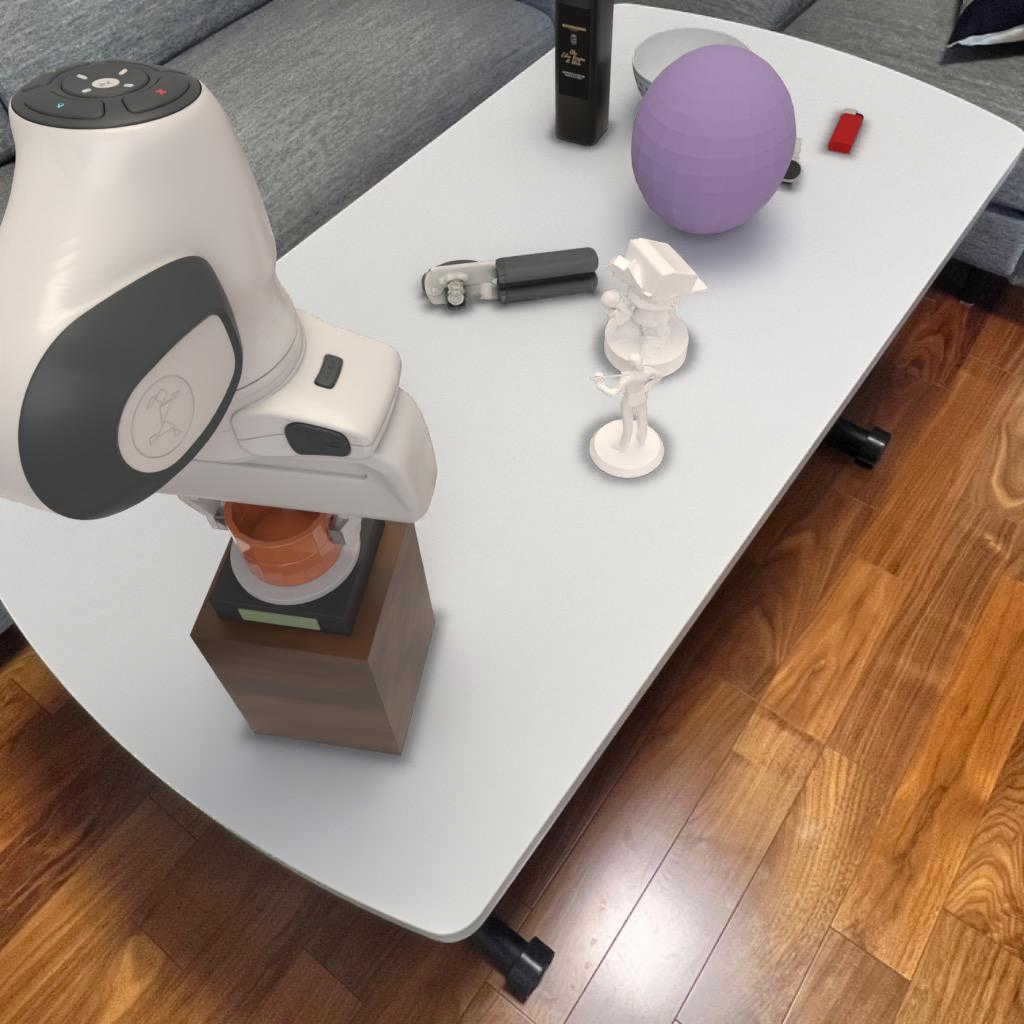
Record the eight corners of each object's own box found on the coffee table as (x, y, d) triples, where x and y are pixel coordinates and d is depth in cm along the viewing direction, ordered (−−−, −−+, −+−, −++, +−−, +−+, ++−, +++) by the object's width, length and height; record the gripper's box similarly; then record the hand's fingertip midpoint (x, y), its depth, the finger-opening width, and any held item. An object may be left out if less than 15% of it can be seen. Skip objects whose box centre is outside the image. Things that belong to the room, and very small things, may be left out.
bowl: (327, 593, 59) (312, 553, 55) (229, 580, 59) (208, 540, 56) (355, 510, 62) (342, 468, 59) (263, 499, 63) (245, 456, 60)
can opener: (424, 317, 101) (418, 280, 97) (422, 278, 105) (416, 241, 101) (600, 302, 101) (602, 264, 97) (592, 263, 105) (593, 226, 101)
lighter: (828, 140, 115) (843, 106, 119) (826, 149, 116) (841, 115, 120) (851, 145, 114) (866, 110, 118) (849, 154, 115) (863, 120, 119)
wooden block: (401, 755, 72) (367, 660, 59) (253, 732, 74) (189, 635, 61) (435, 620, 79) (411, 509, 66) (299, 602, 80) (250, 489, 67)
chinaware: (621, 88, 126) (624, 31, 120) (732, 81, 126) (741, 23, 120) (636, 153, 117) (641, 95, 111) (755, 145, 117) (767, 86, 111)
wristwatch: (773, 188, 112) (781, 151, 108) (778, 164, 114) (786, 127, 110) (798, 191, 111) (807, 154, 107) (802, 167, 114) (811, 130, 110)
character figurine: (589, 336, 98) (592, 242, 88) (666, 306, 100) (678, 212, 91) (631, 390, 93) (639, 297, 84) (711, 357, 96) (729, 263, 86)
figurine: (642, 411, 92) (652, 319, 82) (677, 462, 88) (692, 372, 78) (576, 434, 90) (578, 343, 81) (609, 487, 86) (615, 399, 77)
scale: (350, 638, 60) (341, 615, 58) (218, 620, 61) (204, 596, 59) (385, 523, 65) (378, 498, 63) (263, 508, 66) (252, 482, 64)
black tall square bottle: (592, 148, 118) (601, -121, 94) (552, 138, 120) (550, -130, 95) (611, 125, 121) (624, -143, 97) (571, 115, 123) (574, -150, 98)
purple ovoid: (681, 162, 116) (701, -5, 99) (803, 215, 109) (846, 44, 92) (595, 231, 108) (602, 63, 92) (721, 293, 101) (751, 122, 85)
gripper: (12, 401, 48) (116, 550, 59) (399, 442, 45) (431, 591, 56) (67, 316, 51) (155, 472, 63) (428, 351, 49) (452, 507, 60)
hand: (288, 529), depth 59 cm, fingers closed on bowl, 6 cm apart
